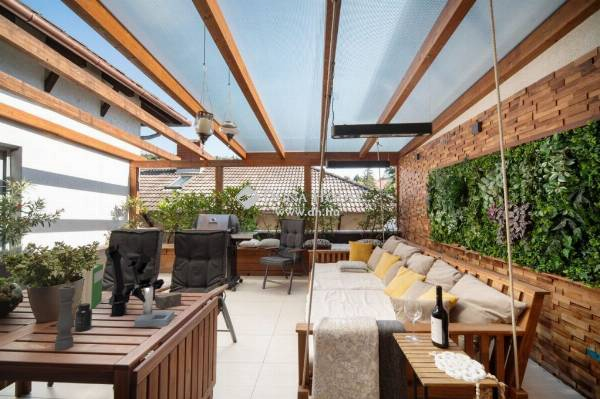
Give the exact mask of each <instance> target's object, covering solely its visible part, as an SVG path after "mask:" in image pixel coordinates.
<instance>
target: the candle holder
mask: <svg viewBox="0 0 600 399" xmlns="http://www.w3.org/2000/svg"><path fill="white" fill-rule="evenodd" d="M57 293H58V294H57V295H58V299H59V301H58V305H59V306H60V309H59V315H58V318H57V321H56V325H55V330H56V331H57V333H58V334H57V336H56V337H55V341H54V351H55V352H61V351H62V352H63V351H67V350H69V349H71V348H73V347H74V334H73V332H72V329H73V327H75V319H74V316H73V312H72V310H73V309H72V307H73V306H72V305H73V303H75V302H74V301H75V300H74V299H73V298H74V296H75V295H76V285H66V286H61V287H58V292H57ZM66 349H67V350H66Z"/></svg>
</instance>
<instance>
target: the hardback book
mask: <svg viewBox="0 0 600 399" xmlns="http://www.w3.org/2000/svg"><path fill="white" fill-rule="evenodd" d="M80 275H81V276H83V277H85V281H84V287H83V292H82V296H81V300H80V303H79V304H84V303H90V308H89V309H91V310H94V309H95V308H96V307H97V306H98V305H99V304H101V303H102V301H103V299H102V297H103V281H104V280H103V276H104V264H103V263H100V264H99V263H97V264H96V263H95V266H94V268H93V269H92V270H91V271H90V272H85V271H84V272H82V273H81V274H80V273H79V276H80Z"/></svg>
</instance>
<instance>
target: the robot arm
mask: <svg viewBox="0 0 600 399" xmlns="http://www.w3.org/2000/svg"><path fill="white" fill-rule="evenodd" d="M104 254H105V255H104V256H105V257H106V260H108V261H109V262H110V266H111V267H110V268H111V274H112V280H113V289H112V291H111V296H110V298H109V299H108V305H109V306H111V310H110V311H111V314H110V315H109V317H123V316H124V315H125V314H127V313H128V312H127V310H128V309H127V308H128V305H127V303H129V301H130V298H131V296H134V297H135V298H136V299H138V300H140V301H141V302H142V303H143V302H145V298H144V296H143V291H142V290H144V287H149V286H152V287H153V301H155V296H156V290H160V289H162V287H163V286H164V284H165V280H164V279H163V278H158V279H155V277H157V275H158V274H157V272H156V270H151V271H148V272H146V269H147V268H148V267H149V265H150V263H151V262H152V258H151V256H150V255H147V254H146V253H145V252H144V253H140V254H139V253H135V252H133V251H132V250H131V249H130V248H129V247H128V246H127V244H126V243H125V242H118V243H114V244H113V245H111V246H108V247H107V248H106V249H105V250H104ZM122 258H124V264H125V265H126V267H127V268H131V269H130V273H129V275H132V276H133V283H129V284H125V281H124V274H123V270H122V264H121V263H122V262H121V261H122ZM152 279H155V280H154V281H153V282H152Z"/></svg>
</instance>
